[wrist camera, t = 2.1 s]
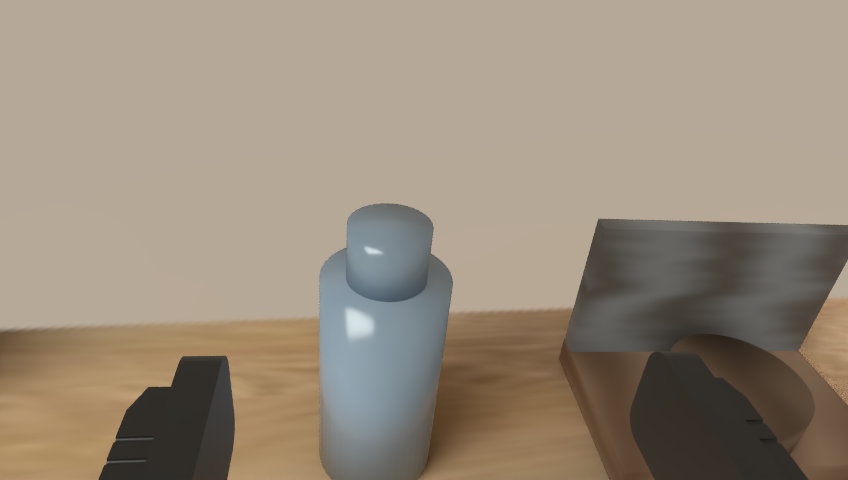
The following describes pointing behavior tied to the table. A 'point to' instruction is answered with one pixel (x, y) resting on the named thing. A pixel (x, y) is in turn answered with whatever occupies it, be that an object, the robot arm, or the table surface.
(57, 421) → the table surface
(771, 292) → the display stand
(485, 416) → the table surface
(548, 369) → the table surface
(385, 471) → the blue grey bottle
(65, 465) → the table surface
